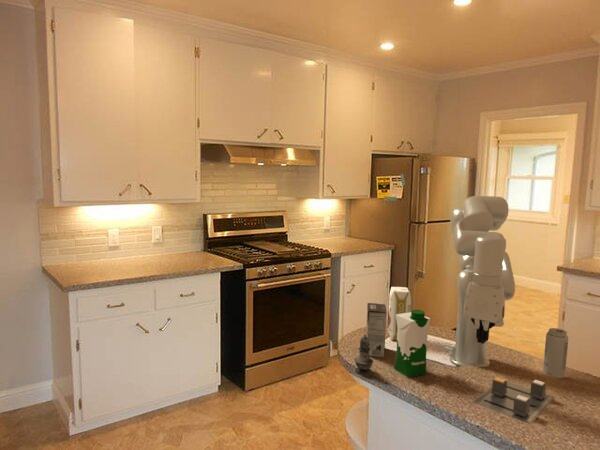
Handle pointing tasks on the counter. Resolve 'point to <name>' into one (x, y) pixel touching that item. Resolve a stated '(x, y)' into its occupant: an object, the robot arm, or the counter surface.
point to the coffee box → (376, 328)
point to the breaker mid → (499, 387)
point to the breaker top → (538, 389)
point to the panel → (507, 402)
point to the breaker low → (521, 405)
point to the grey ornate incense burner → (364, 358)
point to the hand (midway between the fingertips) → (481, 341)
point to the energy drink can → (555, 353)
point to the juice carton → (397, 308)
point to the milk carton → (412, 343)
